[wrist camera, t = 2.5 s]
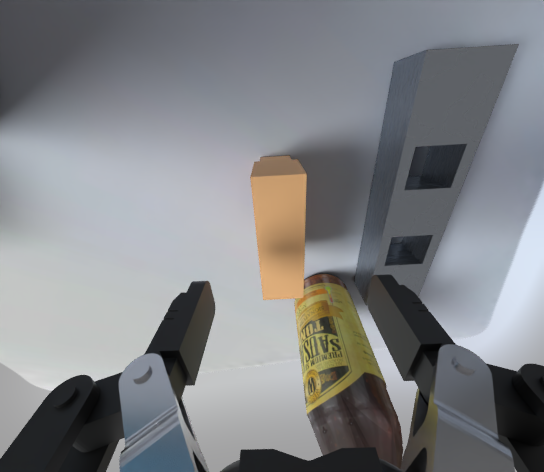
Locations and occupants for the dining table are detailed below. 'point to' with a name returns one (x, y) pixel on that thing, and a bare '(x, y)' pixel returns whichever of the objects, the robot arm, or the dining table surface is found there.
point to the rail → (440, 160)
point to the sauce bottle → (343, 374)
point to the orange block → (280, 225)
